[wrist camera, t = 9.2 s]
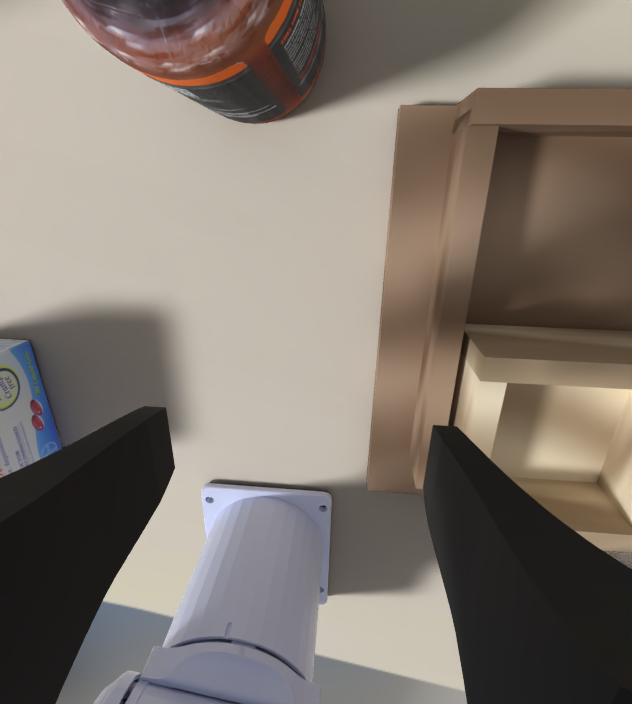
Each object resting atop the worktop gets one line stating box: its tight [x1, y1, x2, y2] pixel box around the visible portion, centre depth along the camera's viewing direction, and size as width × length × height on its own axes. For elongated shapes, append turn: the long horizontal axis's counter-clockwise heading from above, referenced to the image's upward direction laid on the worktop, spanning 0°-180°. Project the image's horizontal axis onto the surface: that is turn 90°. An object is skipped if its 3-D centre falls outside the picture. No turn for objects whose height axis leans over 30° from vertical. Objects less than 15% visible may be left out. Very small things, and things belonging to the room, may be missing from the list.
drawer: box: [448, 324, 632, 553], centre depth 17 cm, size 12×9×8 cm
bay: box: [367, 88, 632, 494], centre depth 18 cm, size 19×16×4 cm
